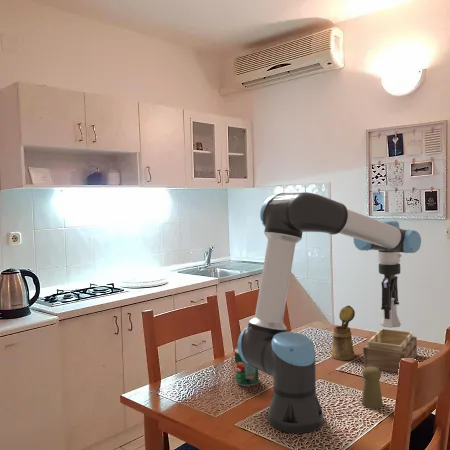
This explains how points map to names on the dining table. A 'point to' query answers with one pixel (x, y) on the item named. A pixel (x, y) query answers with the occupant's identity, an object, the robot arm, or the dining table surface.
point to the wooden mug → (343, 336)
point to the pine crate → (390, 340)
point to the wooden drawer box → (388, 356)
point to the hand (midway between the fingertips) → (390, 324)
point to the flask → (394, 316)
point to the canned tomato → (244, 371)
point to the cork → (372, 388)
